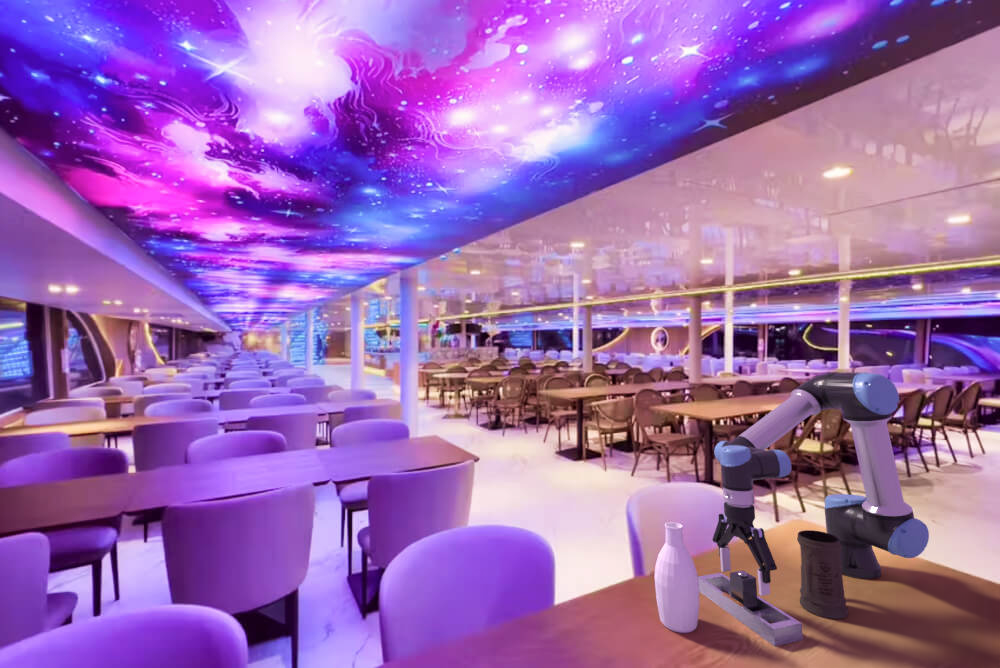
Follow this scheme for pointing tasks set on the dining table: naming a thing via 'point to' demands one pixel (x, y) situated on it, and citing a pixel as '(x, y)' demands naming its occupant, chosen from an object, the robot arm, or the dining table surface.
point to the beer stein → (821, 575)
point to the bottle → (676, 583)
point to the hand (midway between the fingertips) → (744, 581)
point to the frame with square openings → (775, 633)
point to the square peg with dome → (744, 589)
